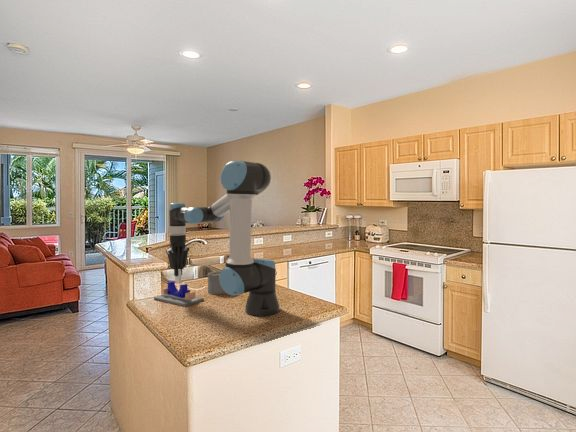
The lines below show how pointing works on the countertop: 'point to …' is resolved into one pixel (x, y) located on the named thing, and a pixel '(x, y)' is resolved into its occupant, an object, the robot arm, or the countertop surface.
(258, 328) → the countertop surface
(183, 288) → the cable clip
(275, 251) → the countertop surface
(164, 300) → the rail mount
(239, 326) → the countertop surface
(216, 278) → the coffee mug
